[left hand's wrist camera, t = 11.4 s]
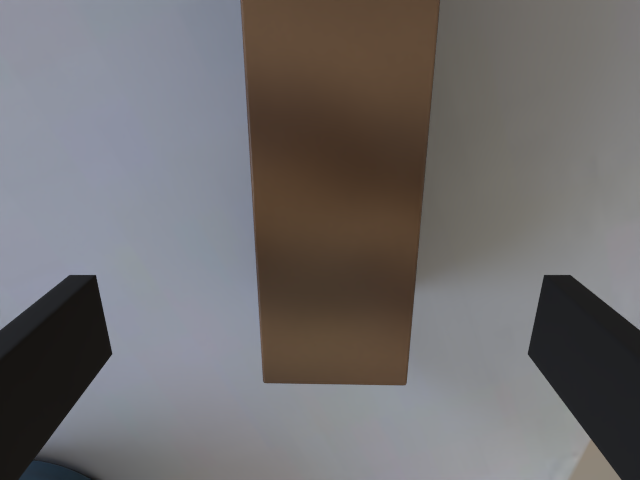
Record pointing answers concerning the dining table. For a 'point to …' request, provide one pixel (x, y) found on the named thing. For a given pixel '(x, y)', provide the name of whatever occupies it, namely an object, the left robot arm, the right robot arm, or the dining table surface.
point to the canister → (50, 472)
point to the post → (337, 181)
